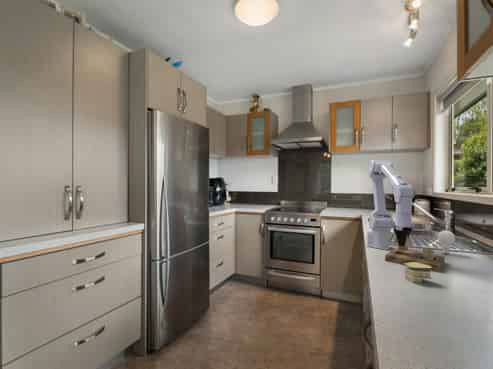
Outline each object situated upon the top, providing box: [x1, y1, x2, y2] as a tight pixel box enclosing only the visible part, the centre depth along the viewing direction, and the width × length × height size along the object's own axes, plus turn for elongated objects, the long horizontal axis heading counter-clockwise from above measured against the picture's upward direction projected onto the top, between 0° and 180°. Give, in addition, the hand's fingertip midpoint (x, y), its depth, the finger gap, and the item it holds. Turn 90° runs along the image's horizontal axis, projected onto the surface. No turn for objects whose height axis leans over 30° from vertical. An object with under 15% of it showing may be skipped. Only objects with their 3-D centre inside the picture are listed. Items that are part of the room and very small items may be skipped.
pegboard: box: [384, 247, 446, 273], centre depth 104 cm, size 18×16×2 cm
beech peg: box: [397, 235, 409, 250], centre depth 107 cm, size 4×4×6 cm
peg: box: [422, 248, 435, 261], centre depth 101 cm, size 4×4×6 cm
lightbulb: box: [437, 229, 456, 255], centre depth 116 cm, size 6×6×11 cm
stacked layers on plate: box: [402, 262, 433, 283], centre depth 83 cm, size 10×9×6 cm
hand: (402, 245), depth 107 cm, fingers closed on beech peg, 3 cm apart
